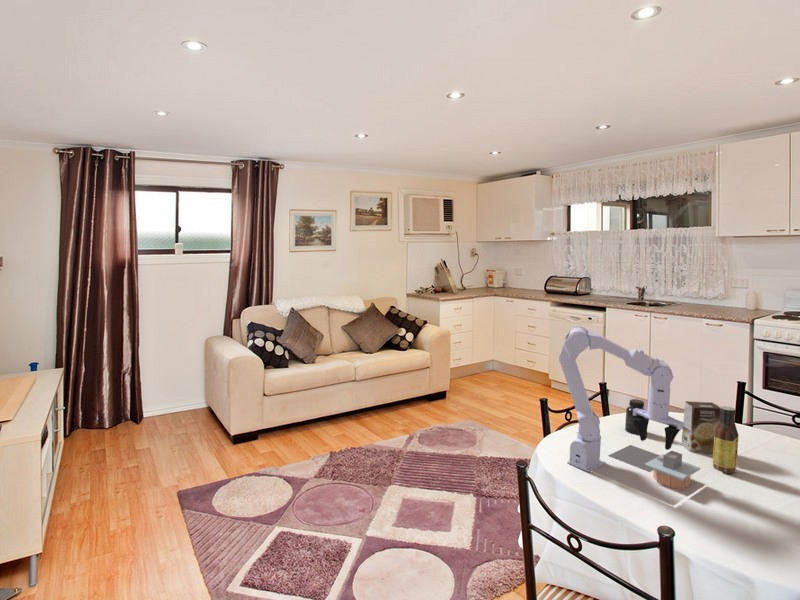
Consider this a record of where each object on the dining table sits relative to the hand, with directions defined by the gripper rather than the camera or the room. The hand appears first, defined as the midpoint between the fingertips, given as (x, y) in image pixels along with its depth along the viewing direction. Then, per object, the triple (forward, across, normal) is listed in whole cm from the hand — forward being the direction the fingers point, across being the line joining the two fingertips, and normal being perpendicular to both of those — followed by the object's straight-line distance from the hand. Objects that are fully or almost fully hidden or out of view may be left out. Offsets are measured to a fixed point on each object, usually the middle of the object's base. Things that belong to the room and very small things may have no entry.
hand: (655, 444), depth 152 cm
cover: (+5, -6, +1) cm, 8 cm away
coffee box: (+9, -1, -29) cm, 30 cm away
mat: (+9, +8, -6) cm, 13 cm away
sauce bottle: (+9, -12, -20) cm, 25 cm away
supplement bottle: (+10, +20, -25) cm, 34 cm away
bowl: (+9, -6, +1) cm, 11 cm away
